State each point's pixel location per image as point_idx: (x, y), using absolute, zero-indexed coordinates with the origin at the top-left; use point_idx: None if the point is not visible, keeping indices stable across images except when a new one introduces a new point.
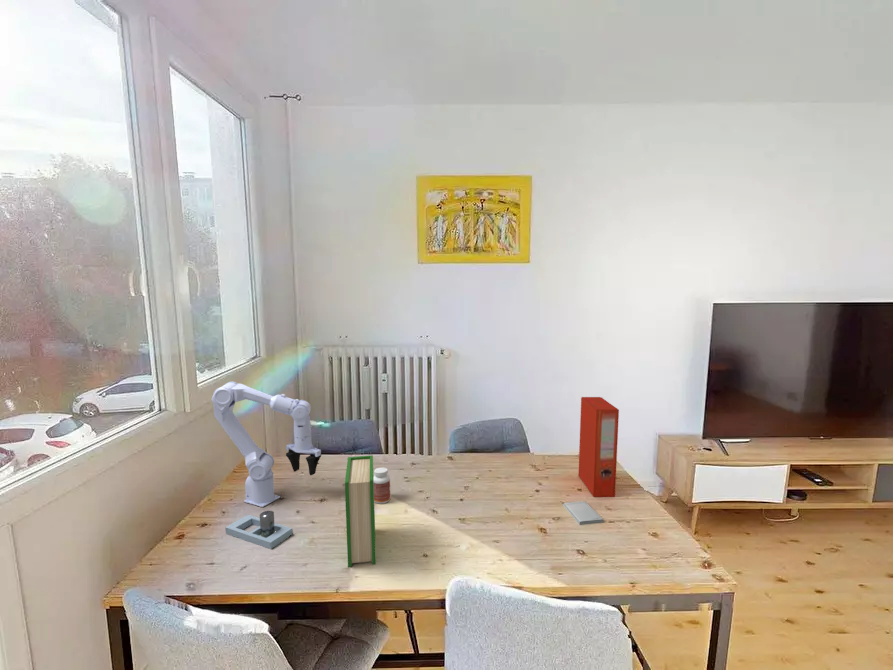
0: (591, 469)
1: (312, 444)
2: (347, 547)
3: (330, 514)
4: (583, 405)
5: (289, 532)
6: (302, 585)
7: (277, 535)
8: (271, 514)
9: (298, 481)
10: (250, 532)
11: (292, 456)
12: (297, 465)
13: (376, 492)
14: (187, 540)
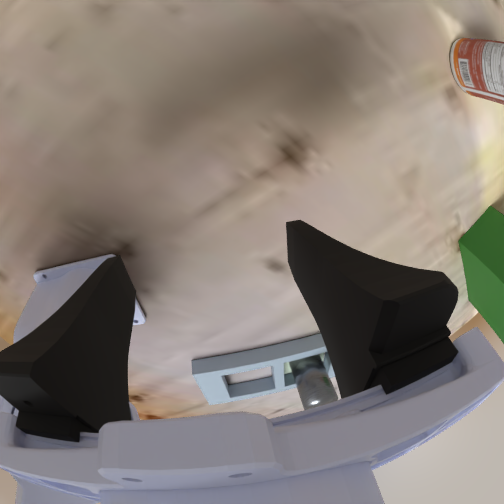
0: None
1: (260, 468)
2: (487, 321)
3: (389, 214)
4: None
5: None
6: None
7: None
8: (334, 398)
9: (26, 117)
10: (278, 387)
11: (120, 415)
12: (114, 293)
13: (497, 102)
14: (176, 417)
